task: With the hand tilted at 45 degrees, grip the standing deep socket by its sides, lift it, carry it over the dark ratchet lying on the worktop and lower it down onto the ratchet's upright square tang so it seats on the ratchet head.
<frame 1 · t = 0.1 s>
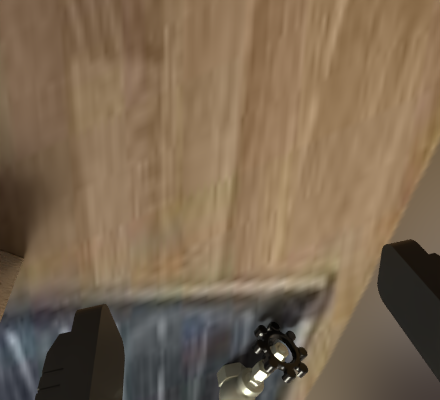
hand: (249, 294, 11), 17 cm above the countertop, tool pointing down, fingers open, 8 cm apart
valve: (247, 350, 44), on the countertop
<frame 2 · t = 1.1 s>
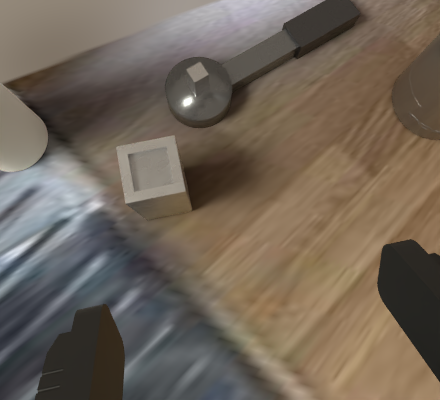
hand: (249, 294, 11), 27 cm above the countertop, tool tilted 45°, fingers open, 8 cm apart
socket: (165, 193, 39), on the countertop
cylindrical container: (15, 140, 40), on the countertop
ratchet: (199, 98, 41), on the countertop
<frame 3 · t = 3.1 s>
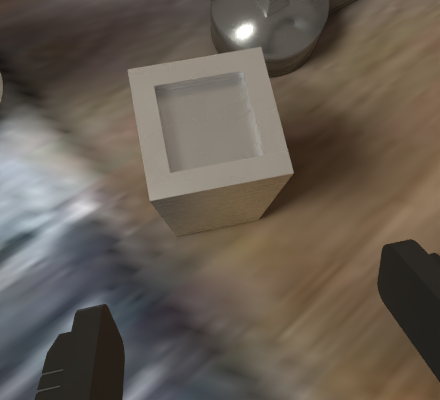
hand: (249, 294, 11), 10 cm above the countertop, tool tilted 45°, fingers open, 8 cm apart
socket: (209, 188, 22), on the countertop
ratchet: (264, 29, 24), on the countertop
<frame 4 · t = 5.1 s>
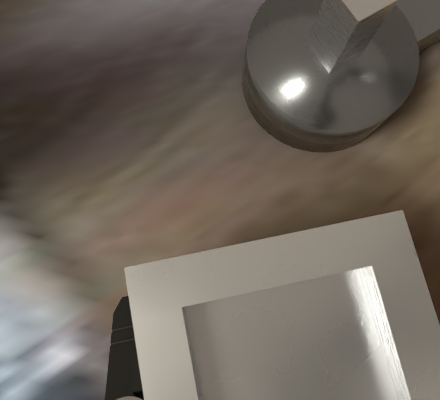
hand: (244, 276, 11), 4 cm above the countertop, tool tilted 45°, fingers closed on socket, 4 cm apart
socket: (245, 323, 15), on the countertop, touching gripper
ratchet: (316, 81, 17), on the countertop
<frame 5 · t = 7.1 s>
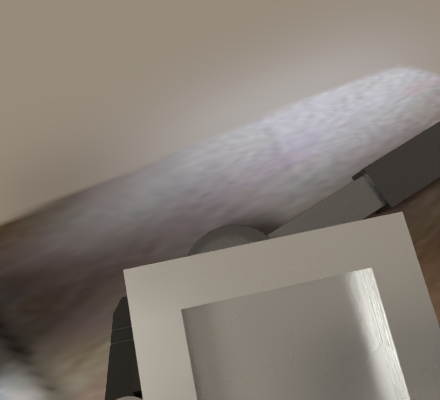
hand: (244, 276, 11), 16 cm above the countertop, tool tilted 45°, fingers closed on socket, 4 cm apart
socket: (245, 324, 15), point 12 cm above the countertop, touching gripper
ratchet: (233, 278, 27), on the countertop
when the fingers open (8 cm above the countertop, at t = 9.3 s): socket drops 1 cm, resting on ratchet.
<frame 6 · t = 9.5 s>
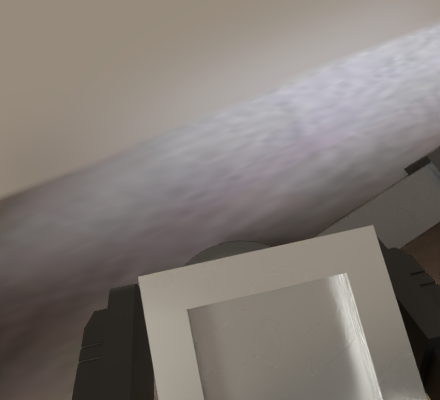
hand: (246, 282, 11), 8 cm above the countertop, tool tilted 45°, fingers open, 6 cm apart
socket: (243, 322, 16), point 2 cm above the countertop, touching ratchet
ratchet: (238, 315, 19), on the countertop
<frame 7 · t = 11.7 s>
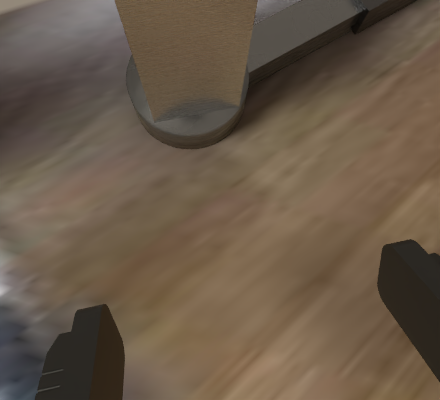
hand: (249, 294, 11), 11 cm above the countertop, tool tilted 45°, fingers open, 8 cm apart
socket: (188, 77, 21), point 2 cm above the countertop, touching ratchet
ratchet: (190, 97, 24), on the countertop
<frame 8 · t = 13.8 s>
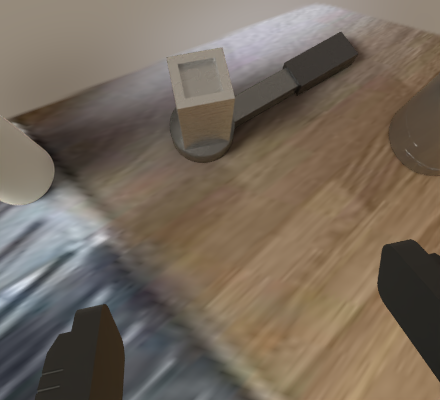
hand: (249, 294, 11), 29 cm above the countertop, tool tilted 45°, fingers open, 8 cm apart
socket: (202, 125, 40), point 2 cm above the countertop, touching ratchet
cylindrical container: (22, 174, 41), on the countertop
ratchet: (202, 133, 42), on the countertop
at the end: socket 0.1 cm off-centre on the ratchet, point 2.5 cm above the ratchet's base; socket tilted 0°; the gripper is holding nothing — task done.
